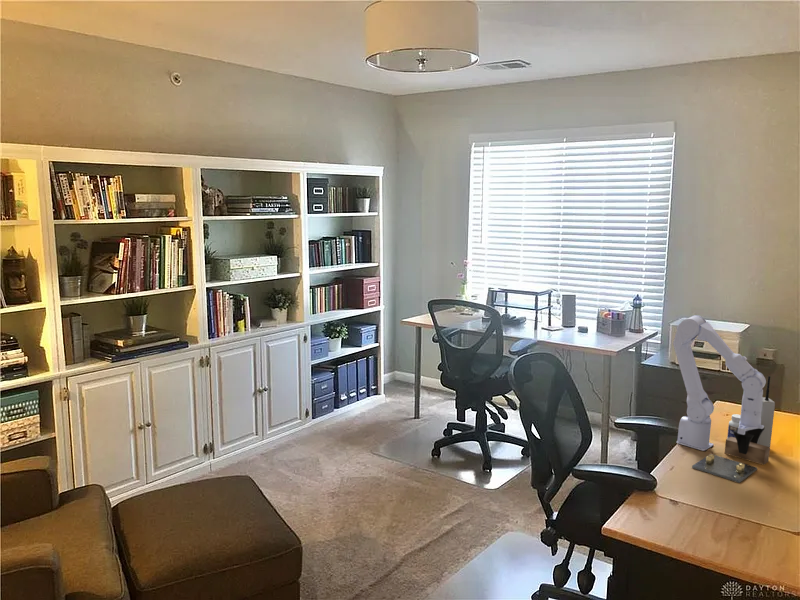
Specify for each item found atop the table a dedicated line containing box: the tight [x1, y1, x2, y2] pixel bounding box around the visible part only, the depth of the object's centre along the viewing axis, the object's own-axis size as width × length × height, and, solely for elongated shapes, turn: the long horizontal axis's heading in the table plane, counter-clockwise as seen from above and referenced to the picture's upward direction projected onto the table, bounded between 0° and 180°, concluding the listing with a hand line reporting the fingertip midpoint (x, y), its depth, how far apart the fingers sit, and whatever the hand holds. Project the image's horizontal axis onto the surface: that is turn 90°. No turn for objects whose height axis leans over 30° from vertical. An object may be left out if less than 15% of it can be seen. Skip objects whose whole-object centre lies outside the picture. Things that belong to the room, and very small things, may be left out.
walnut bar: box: [724, 437, 771, 466], centre depth 211 cm, size 12×4×5 cm, turn 43°
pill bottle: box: [726, 413, 741, 439], centre depth 223 cm, size 5×5×10 cm
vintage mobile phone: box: [757, 375, 776, 448], centre depth 218 cm, size 4×5×25 cm
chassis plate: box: [691, 453, 758, 484], centre depth 202 cm, size 14×14×3 cm
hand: (747, 450), depth 211 cm, fingers open, 7 cm apart
